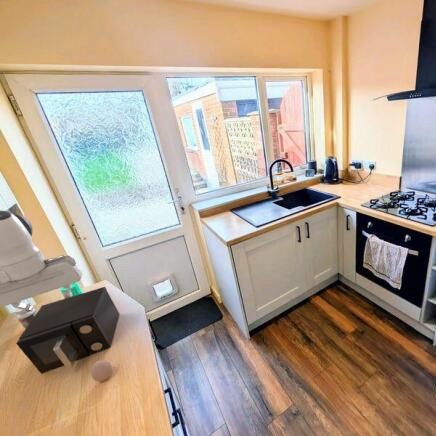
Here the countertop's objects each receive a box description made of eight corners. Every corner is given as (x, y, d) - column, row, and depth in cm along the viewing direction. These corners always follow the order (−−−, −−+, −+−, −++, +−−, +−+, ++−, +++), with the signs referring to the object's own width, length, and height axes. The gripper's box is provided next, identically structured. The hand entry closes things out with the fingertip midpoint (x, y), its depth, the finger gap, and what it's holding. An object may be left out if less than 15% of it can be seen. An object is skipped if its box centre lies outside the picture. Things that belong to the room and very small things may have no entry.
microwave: (110, 349, 87) (91, 318, 81) (40, 375, 81) (14, 344, 75) (119, 314, 103) (104, 286, 97) (62, 334, 96) (41, 305, 90)
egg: (108, 384, 76) (99, 370, 73) (92, 386, 76) (82, 372, 73) (119, 368, 80) (110, 354, 77) (103, 369, 80) (94, 356, 78)
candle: (79, 309, 109) (66, 288, 104) (68, 308, 110) (54, 287, 105) (91, 299, 114) (79, 278, 109) (80, 299, 115) (68, 278, 110)
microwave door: (84, 370, 81) (62, 339, 75) (32, 390, 76) (4, 359, 70) (90, 352, 87) (71, 322, 81) (43, 369, 83) (18, 339, 76)
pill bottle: (24, 333, 99) (10, 315, 95) (28, 324, 103) (15, 307, 99) (41, 326, 101) (28, 309, 97) (45, 318, 106) (32, 301, 101)
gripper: (72, 248, 75) (92, 283, 81) (-21, 274, 67) (9, 312, 72) (68, 257, 70) (89, 294, 76) (-33, 287, 62) (0, 326, 67)
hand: (49, 303), depth 74 cm, fingers open, 8 cm apart
